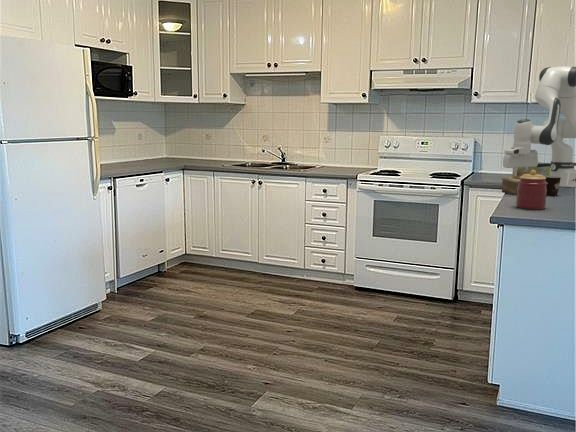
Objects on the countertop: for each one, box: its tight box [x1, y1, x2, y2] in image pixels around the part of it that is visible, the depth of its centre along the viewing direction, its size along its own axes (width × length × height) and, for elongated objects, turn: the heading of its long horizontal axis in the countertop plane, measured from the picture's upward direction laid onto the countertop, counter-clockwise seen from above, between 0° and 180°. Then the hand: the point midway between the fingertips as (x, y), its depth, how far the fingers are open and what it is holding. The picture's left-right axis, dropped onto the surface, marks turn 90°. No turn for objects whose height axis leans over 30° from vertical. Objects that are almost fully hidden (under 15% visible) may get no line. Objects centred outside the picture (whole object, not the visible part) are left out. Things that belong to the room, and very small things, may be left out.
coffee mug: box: [544, 176, 561, 197], centre depth 293 cm, size 12×9×10 cm
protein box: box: [517, 161, 551, 176], centre depth 313 cm, size 10×16×16 cm
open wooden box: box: [501, 180, 518, 196], centre depth 301 cm, size 12×12×7 cm
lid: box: [500, 170, 527, 182], centre depth 299 cm, size 13×13×5 cm
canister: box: [515, 170, 548, 210], centre depth 257 cm, size 13×13×18 cm
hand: (519, 175), depth 299 cm, fingers closed on lid, 3 cm apart
